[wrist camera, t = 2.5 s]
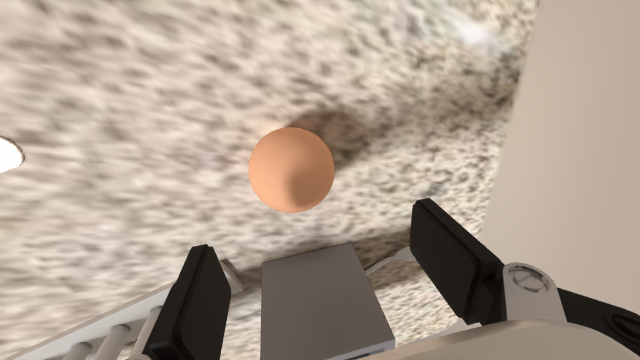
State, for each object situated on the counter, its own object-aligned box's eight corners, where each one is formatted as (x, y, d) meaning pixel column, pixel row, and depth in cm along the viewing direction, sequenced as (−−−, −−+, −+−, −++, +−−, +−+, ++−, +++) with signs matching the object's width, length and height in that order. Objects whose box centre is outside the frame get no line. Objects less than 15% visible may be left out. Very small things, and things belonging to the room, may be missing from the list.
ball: (241, 125, 18) (231, 155, 12) (320, 112, 18) (341, 135, 13) (260, 192, 20) (259, 239, 15) (327, 179, 21) (347, 219, 16)
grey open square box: (262, 262, 24) (260, 378, 16) (351, 241, 25) (395, 339, 17) (280, 317, 29) (286, 428, 20) (354, 297, 30) (390, 395, 21)
